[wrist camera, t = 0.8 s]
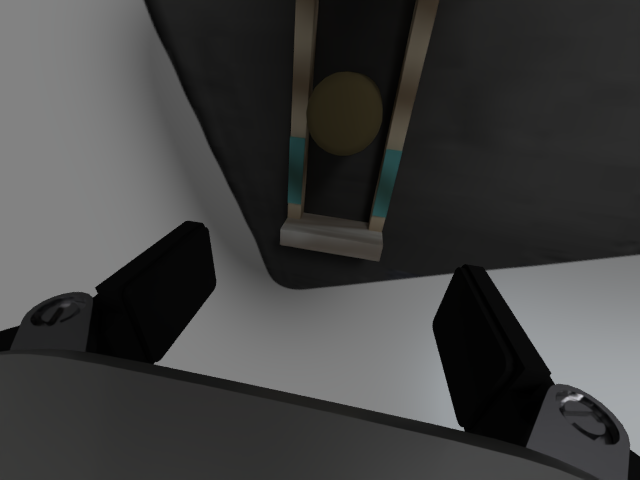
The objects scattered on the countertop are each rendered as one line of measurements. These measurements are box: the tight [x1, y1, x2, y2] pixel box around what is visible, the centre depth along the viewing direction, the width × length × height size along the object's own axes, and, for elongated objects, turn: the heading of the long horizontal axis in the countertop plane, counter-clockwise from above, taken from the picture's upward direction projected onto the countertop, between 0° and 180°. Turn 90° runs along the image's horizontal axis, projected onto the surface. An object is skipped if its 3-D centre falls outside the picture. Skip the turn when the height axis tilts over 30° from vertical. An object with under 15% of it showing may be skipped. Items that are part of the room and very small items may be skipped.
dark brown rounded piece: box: [306, 71, 383, 156], centre depth 21 cm, size 6×6×11 cm
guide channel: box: [280, 0, 439, 261], centre depth 23 cm, size 30×11×5 cm, turn 174°
